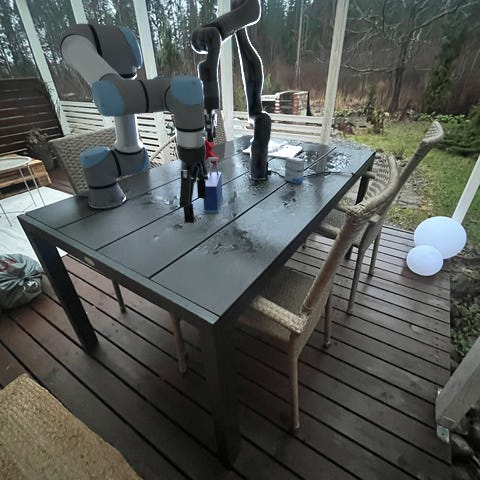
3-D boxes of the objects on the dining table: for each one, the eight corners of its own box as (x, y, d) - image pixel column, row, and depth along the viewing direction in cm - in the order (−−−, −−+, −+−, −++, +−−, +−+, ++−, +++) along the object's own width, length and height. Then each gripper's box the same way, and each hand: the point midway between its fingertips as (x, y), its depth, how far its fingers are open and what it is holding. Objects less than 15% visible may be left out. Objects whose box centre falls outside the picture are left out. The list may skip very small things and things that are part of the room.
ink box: (302, 181, 142) (305, 159, 136) (297, 184, 139) (300, 161, 133) (289, 177, 147) (291, 156, 141) (284, 180, 144) (285, 158, 138)
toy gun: (224, 159, 165) (208, 138, 162) (221, 161, 162) (205, 139, 158) (204, 174, 175) (189, 154, 172) (201, 176, 172) (186, 156, 168)
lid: (209, 174, 122) (207, 155, 117) (221, 174, 121) (220, 155, 117) (202, 188, 107) (200, 167, 103) (216, 189, 107) (215, 167, 103)
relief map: (291, 159, 177) (291, 151, 174) (243, 153, 190) (243, 145, 187) (302, 149, 197) (303, 142, 194) (258, 144, 211) (258, 137, 208)
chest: (210, 197, 127) (208, 175, 121) (222, 197, 127) (221, 175, 121) (204, 212, 113) (202, 189, 107) (217, 213, 113) (216, 189, 107)
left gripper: (190, 166, 63) (196, 235, 77) (216, 129, 81) (216, 190, 95) (159, 162, 64) (170, 231, 78) (191, 126, 82) (196, 187, 96)
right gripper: (202, 93, 108) (205, 136, 116) (195, 96, 96) (199, 144, 104) (221, 93, 107) (223, 136, 116) (216, 96, 95) (219, 144, 104)
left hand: (196, 209), depth 87 cm, fingers open, 13 cm apart
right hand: (212, 139), depth 110 cm, fingers open, 8 cm apart
